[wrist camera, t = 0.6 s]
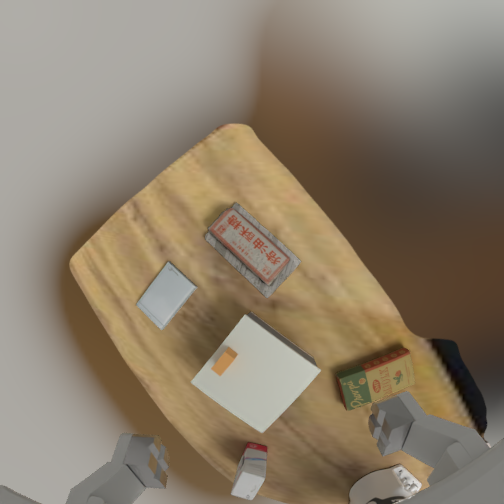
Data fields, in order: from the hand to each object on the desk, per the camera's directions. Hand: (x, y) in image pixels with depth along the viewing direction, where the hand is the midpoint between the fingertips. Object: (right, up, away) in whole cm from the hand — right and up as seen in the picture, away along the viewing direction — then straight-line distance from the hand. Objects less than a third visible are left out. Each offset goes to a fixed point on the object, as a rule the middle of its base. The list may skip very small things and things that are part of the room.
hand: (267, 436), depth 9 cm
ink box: (0, -41, +45) cm, 60 cm away
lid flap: (0, -15, +39) cm, 41 cm away
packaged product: (-1, +7, +49) cm, 50 cm away
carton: (+25, -20, +44) cm, 55 cm away
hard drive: (-19, -3, +51) cm, 54 cm away
